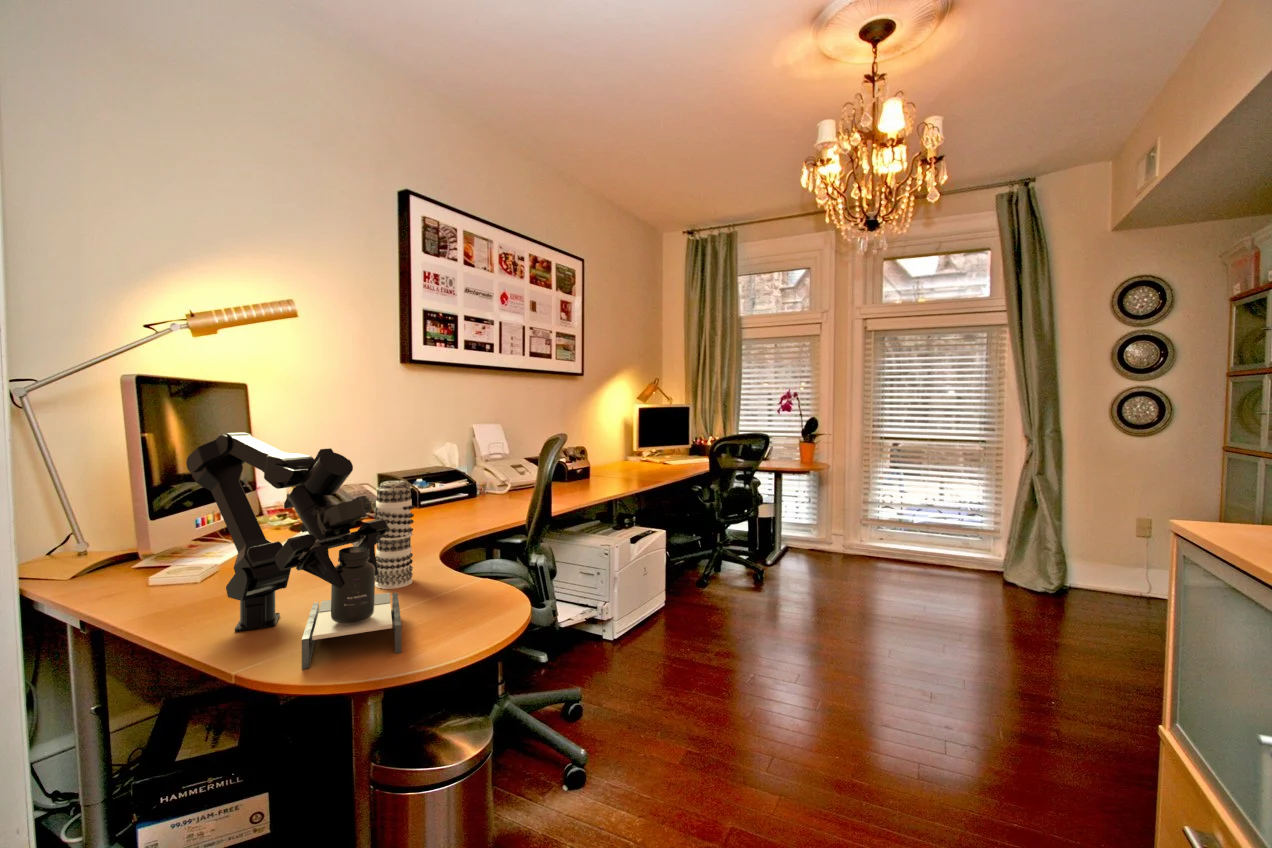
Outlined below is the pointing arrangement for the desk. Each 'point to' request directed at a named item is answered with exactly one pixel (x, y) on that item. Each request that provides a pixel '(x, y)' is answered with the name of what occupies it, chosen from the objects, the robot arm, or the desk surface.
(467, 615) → the desk surface
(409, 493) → the decorative candle
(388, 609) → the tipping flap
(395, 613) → the flap frame
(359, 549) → the supplement bottle
